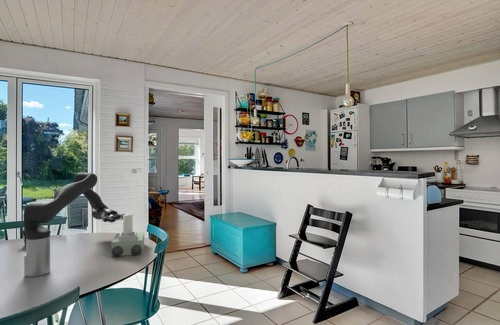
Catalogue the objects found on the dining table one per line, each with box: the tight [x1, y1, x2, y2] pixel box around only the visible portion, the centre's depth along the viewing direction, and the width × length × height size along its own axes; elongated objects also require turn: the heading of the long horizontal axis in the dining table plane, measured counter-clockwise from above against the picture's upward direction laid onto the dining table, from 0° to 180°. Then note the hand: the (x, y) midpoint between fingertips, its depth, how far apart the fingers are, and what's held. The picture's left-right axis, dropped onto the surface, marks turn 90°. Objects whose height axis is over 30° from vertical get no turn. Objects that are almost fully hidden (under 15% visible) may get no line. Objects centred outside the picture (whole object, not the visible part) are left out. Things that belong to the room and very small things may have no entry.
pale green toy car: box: [111, 231, 145, 258], centre depth 174 cm, size 16×21×11 cm
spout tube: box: [122, 213, 134, 236], centre depth 170 cm, size 5×5×14 cm
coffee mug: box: [22, 228, 26, 247], centre depth 183 cm, size 12×9×10 cm
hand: (120, 219), depth 178 cm, fingers open, 8 cm apart
